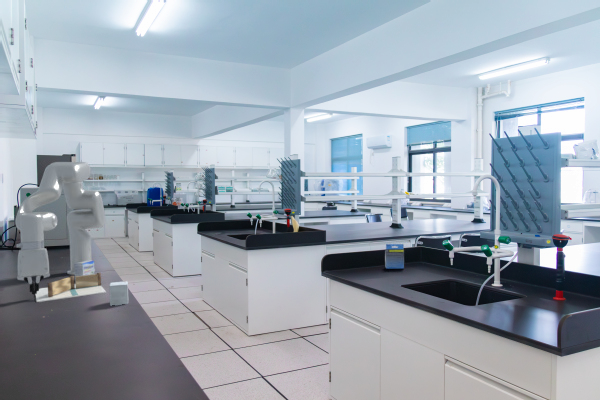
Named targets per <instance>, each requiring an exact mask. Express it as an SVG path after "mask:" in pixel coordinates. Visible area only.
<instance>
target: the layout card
mask: <svg viewBox="0 0 600 400" xmlns="http://www.w3.org/2000/svg"><path fill="white" fill-rule="evenodd" d="M74 284H75V289H70V290H67V291H64V292H61V293H59V294H56V295H53V296H52V297H48V287H39V291H37V294H35V293H34V295H35V301H36V303H43V302H49V301H50V302H51V301H56V300H65V299H69V298H79V297H85V296H92V295H99V294H106V293H107V291H106V290H105V288H104V287H103V286H102V284H101V285H99V286H91V287H83V288H76V283H74Z"/></svg>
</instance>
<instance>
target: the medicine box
mask: <svg viewBox="0 0 600 400" xmlns="http://www.w3.org/2000/svg"><path fill="white" fill-rule="evenodd" d="M91 260H92V259H91ZM91 260H88V261H83V262H79V263H75V264H74V269H75V275H74V277H75V276H84V275H93V274H95V272H94V269H95V261H94V260H92V261H91ZM74 283H76V279H75V278H74Z"/></svg>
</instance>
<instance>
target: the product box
mask: <svg viewBox="0 0 600 400" xmlns="http://www.w3.org/2000/svg"><path fill="white" fill-rule="evenodd" d="M122 304H125V305H129V283H128V280H126V281H116V282H110V283H109V305H110V306H111V307H113V306H112V305H115V306H123V305H122Z"/></svg>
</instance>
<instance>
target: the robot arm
mask: <svg viewBox="0 0 600 400" xmlns="http://www.w3.org/2000/svg"><path fill="white" fill-rule="evenodd" d="M91 173H92V169H91V167H90V165H89V164H88V162H85V161H54V162H51V163H50V164H49V165H47V166H46V167H45V169H44V172H43V175H42V177H41V181H40V184H39V187H38V189H37V191H35V192H33V193H32V194H30V195H28V197H26V198H25V199H24V200H23V201H22V202H21V204H20V205H19V207H18V210H17V213H16V216H15V222H14V223H15V227H16V228H17V230H19V231H20V243H16V245H15V246H16V248H19V250H18V255H17V277H16V278H17V279H16V280H18V281H25V282H26V283H27V284H28V285H29V293H31V295H35V294H37V291H39V289H40V287H39V286H40V282H41V281H42V280H43V279H45V278H49V277H51V273H50V261H49V260H50V259H49V255H48V250H47V247H46V248H45V238H44V237H45V235H44V232H46V231H47V232H48V231H52V230H54V229H55V228H56V227H57V226H58V217H57V215H56V214H55V213H53V212H50V211H36V209H38V208H40V207H42V206H45V205H47V204H48V205H49V204H51V203H53V202H55V201H57V200H59V199H60V198H61V195H62V192H63V193H64V198H65V204H66V205H67V207H68V208H69V209H70V210H71V211H69V212H68V213H67V215H66V223H67V227H68V235H69V236H68V237H69V258H70V269H69V270H67V271H66V273H67V275H69V276H75V269H74V264H75V263H79V262H83V261H88V260H91V261H93V260H92V238H91V234H90V233H89V232H88V231H87V229H101V228H103V227H104V226H105V225H106V212H105V209H104V208H105V207H104V202H103V198H102V194H101V193H100V192H99V191H98V190H97V189H84V186H83V182H84V181H88V179H89V178H90V177H91ZM33 211H34V212H33ZM35 211H36V212H35ZM95 272H96V268H94V273H95ZM32 277H35V281H33V280H32Z"/></svg>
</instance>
